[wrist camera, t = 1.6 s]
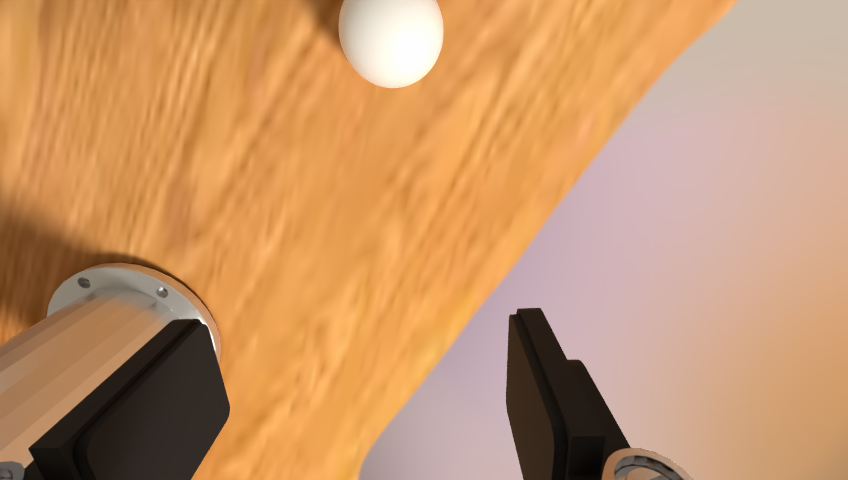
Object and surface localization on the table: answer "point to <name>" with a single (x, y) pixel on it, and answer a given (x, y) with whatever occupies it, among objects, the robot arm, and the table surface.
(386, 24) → the cue ball
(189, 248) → the table surface
